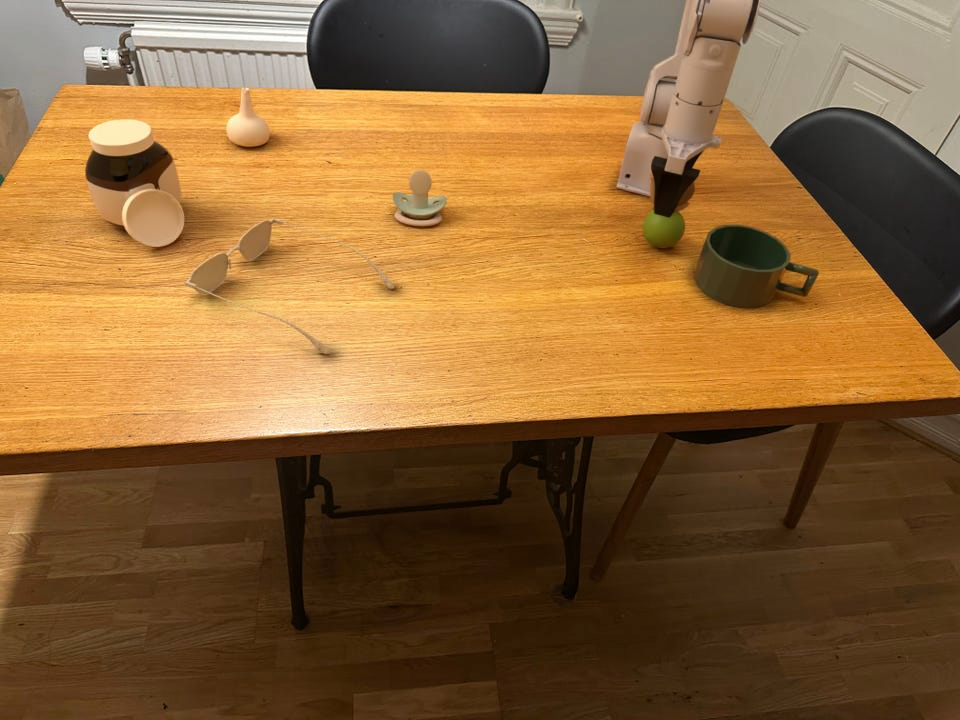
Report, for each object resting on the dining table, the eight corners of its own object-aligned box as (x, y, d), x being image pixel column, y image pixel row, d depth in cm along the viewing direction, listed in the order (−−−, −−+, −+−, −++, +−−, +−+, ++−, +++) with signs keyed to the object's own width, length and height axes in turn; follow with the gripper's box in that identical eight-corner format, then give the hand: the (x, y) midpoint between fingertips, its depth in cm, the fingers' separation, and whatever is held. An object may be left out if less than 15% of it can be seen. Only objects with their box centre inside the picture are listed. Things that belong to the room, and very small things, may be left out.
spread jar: (146, 192, 94) (122, 109, 86) (218, 212, 92) (200, 128, 84) (80, 237, 86) (47, 149, 78) (158, 260, 83) (132, 172, 75)
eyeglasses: (275, 240, 88) (271, 212, 86) (399, 285, 83) (398, 257, 81) (188, 306, 78) (180, 277, 75) (324, 361, 73) (320, 333, 70)
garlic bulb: (219, 142, 106) (209, 90, 100) (249, 128, 110) (241, 77, 104) (249, 155, 104) (241, 102, 98) (279, 140, 108) (273, 89, 102)
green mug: (687, 294, 86) (700, 257, 83) (700, 252, 93) (712, 216, 90) (802, 326, 83) (820, 290, 79) (806, 280, 90) (823, 245, 87)
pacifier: (443, 232, 93) (447, 207, 97) (445, 190, 88) (449, 166, 93) (388, 226, 93) (395, 202, 97) (387, 185, 88) (394, 161, 92)
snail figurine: (627, 232, 96) (648, 151, 87) (672, 233, 96) (697, 153, 88) (637, 255, 92) (659, 172, 83) (683, 256, 92) (710, 174, 84)
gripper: (725, 128, 74) (689, 236, 83) (740, 82, 84) (707, 183, 93) (660, 113, 76) (632, 221, 85) (682, 70, 86) (655, 170, 95)
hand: (668, 200), depth 89 cm, fingers open, 7 cm apart
